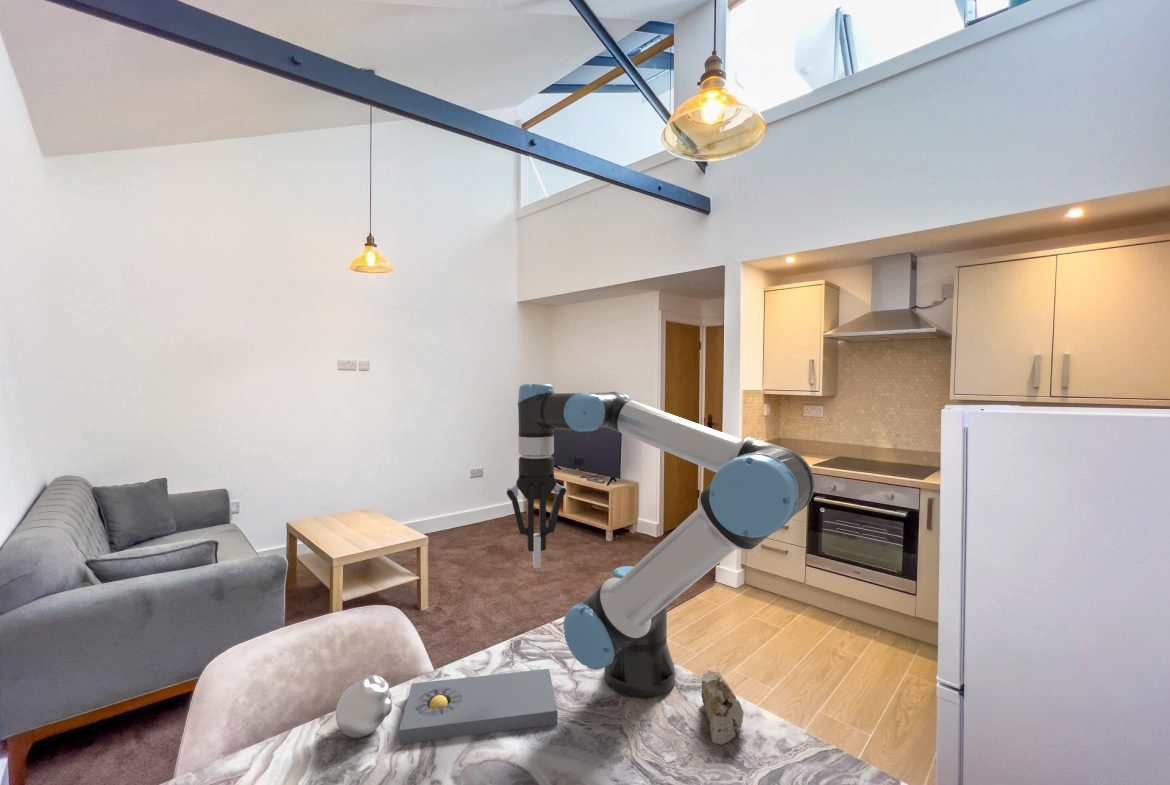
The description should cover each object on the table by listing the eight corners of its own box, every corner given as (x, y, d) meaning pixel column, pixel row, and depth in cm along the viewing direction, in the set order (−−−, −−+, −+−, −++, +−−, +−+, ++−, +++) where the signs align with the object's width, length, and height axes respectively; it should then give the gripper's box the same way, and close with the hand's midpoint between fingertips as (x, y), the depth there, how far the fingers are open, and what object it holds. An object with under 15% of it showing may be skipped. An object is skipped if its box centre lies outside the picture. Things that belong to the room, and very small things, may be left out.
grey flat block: (549, 680, 106) (549, 668, 106) (557, 723, 92) (557, 710, 92) (412, 695, 101) (411, 683, 101) (399, 744, 87) (399, 730, 87)
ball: (448, 689, 97) (429, 692, 96) (446, 703, 93) (427, 706, 93) (449, 704, 97) (431, 706, 97) (447, 718, 94) (429, 721, 94)
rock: (752, 744, 85) (739, 678, 88) (713, 747, 86) (702, 682, 89) (739, 721, 97) (728, 664, 100) (705, 724, 97) (696, 667, 100)
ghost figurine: (372, 753, 85) (371, 695, 85) (324, 745, 87) (323, 688, 87) (402, 719, 94) (402, 666, 94) (358, 712, 96) (358, 660, 96)
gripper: (564, 452, 111) (564, 557, 111) (505, 454, 109) (505, 561, 109) (569, 457, 104) (569, 569, 104) (505, 459, 101) (506, 574, 102)
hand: (536, 565), depth 106 cm, fingers closed
